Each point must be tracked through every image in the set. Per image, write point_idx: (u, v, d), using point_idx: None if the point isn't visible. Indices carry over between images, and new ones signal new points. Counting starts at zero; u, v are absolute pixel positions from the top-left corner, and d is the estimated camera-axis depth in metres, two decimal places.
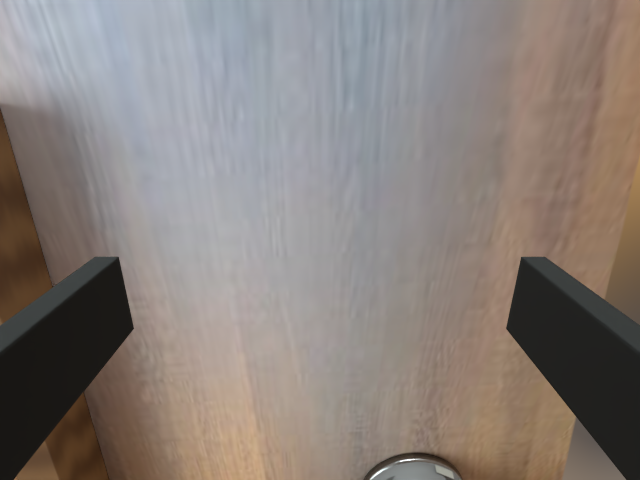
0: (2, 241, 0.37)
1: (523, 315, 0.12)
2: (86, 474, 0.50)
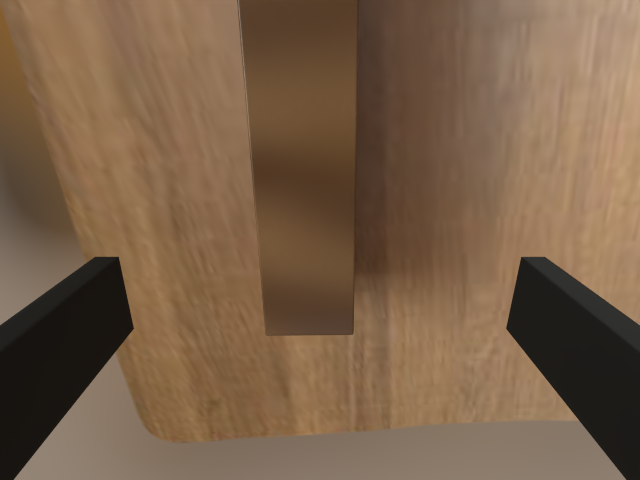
0: None
1: (523, 315, 0.12)
2: None
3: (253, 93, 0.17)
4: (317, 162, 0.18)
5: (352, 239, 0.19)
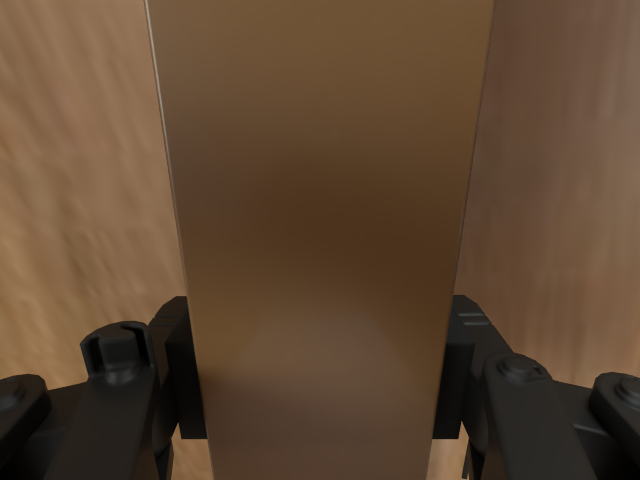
0: None
1: None
2: None
3: None
4: (362, 163, 0.06)
5: (438, 361, 0.07)
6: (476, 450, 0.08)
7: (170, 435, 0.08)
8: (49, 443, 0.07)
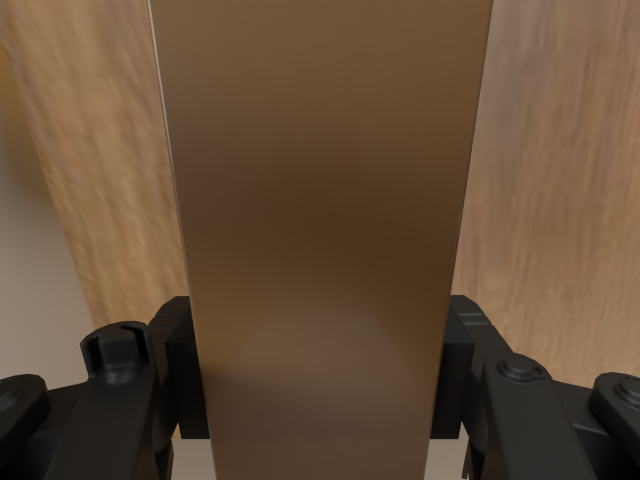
0: None
1: None
2: None
3: None
4: (361, 166, 0.06)
5: (436, 359, 0.08)
6: (476, 450, 0.08)
7: (170, 435, 0.08)
8: (49, 443, 0.07)
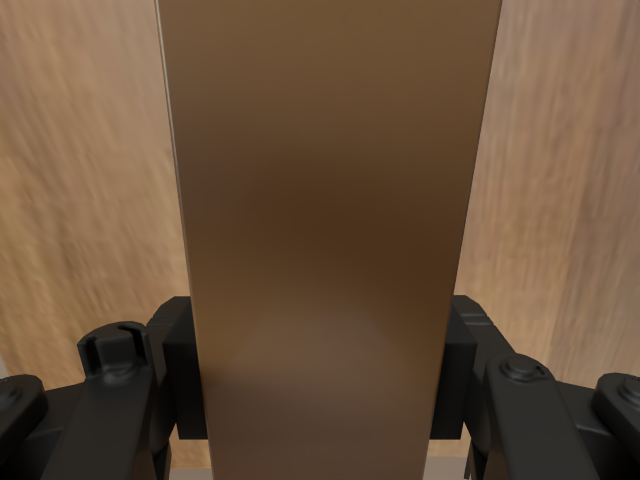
0: None
1: None
2: None
3: None
4: (367, 163, 0.06)
5: (438, 359, 0.08)
6: (478, 450, 0.08)
7: (167, 435, 0.08)
8: (46, 443, 0.07)
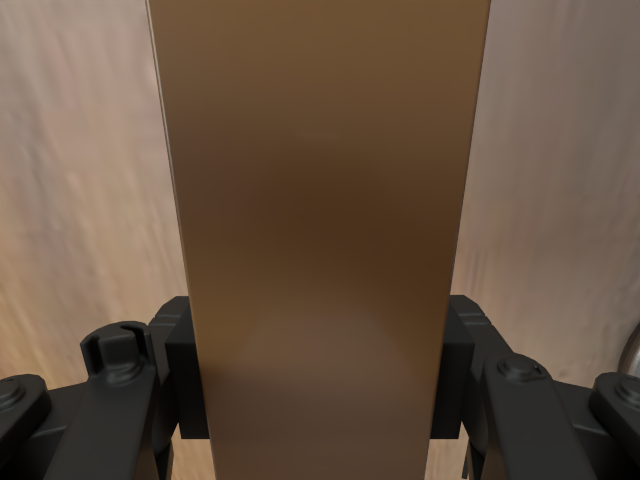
0: None
1: None
2: None
3: None
4: (360, 158, 0.06)
5: (437, 354, 0.08)
6: (476, 450, 0.08)
7: (170, 435, 0.08)
8: (49, 443, 0.07)
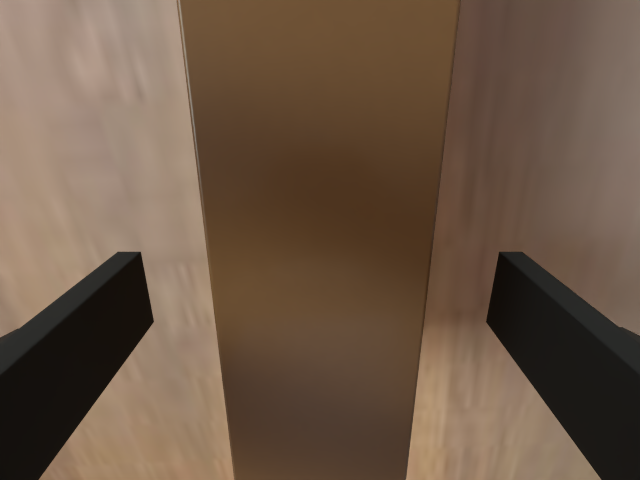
0: None
1: (501, 308, 0.12)
2: None
3: None
4: (354, 135, 0.07)
5: (421, 308, 0.09)
6: None
7: None
8: None
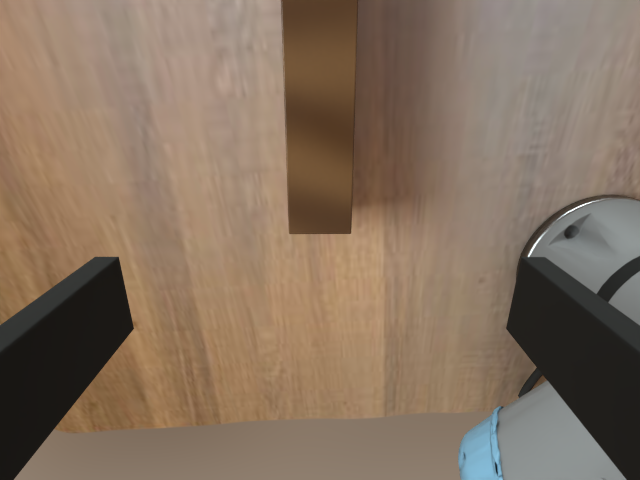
0: None
1: (523, 315, 0.12)
2: None
3: (288, 57, 0.26)
4: (329, 105, 0.27)
5: (351, 161, 0.28)
6: None
7: None
8: None
